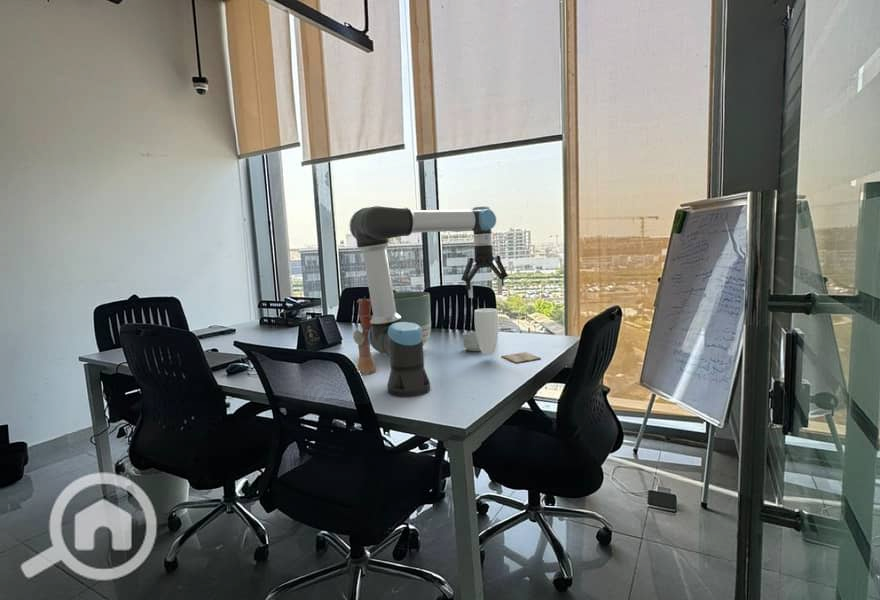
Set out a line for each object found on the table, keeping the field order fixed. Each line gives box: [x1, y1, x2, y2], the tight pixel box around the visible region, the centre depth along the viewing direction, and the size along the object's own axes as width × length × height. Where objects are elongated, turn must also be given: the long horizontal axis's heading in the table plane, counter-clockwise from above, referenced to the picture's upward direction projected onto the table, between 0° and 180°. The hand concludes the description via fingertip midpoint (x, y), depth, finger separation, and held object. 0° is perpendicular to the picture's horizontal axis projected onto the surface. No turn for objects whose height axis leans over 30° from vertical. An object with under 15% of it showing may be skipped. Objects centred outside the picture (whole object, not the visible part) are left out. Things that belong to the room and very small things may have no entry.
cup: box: [473, 307, 499, 356], centre depth 203 cm, size 10×10×22 cm
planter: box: [393, 291, 432, 347], centre depth 225 cm, size 27×27×27 cm
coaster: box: [501, 351, 542, 364], centre depth 204 cm, size 12×12×1 cm
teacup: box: [462, 331, 481, 352], centre depth 221 cm, size 14×11×8 cm
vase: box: [352, 298, 377, 376], centre depth 194 cm, size 10×7×30 cm
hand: (485, 296), depth 200 cm, fingers open, 13 cm apart
